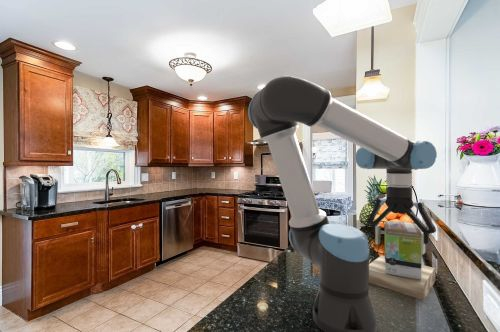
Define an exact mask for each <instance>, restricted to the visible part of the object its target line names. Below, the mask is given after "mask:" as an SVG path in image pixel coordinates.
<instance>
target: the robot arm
mask: <svg viewBox="0 0 500 332" xmlns="http://www.w3.org/2000/svg"><path fill="white" fill-rule="evenodd" d="M247 110H248V111H247V114H248V118H249V121H250V124H251V125H252V126H253V127H254V128H255V129H257V131H258V134H259V138H260V140H261V141H264V142H265V143H267V145H268V148H269V151H270V154H271V157H272V160H273V161H272V162H273V163H274V167H275V170H276V172H277V175H278V179H279V182H280V185H281V188H282V191H283V194H284V197H285V200H286V202H287V206H288V209H289V212H290V215H291V217H290V219H289V221H288V225H289V227H290V229H289V231H288V239H289V242H290V245H291V247H292V248H293V250H294V251H295V252H296V253H297V254H299V255H300V256H301V257H303V258H305V259H306V261H308V262H309V263H310V262H311V263H312V264H313V265H314V266H316V267H317V268H318V269H319V271H318V272H319V286H318V287H319V288H318V291H317V293H316V297H315V300H314V302H313V306H312V319H313V322H314V324H315V326H316V327H317V326H318V327H319V328H320V329H321V330H320V329H319V328H318V327H317V328H318V329H319V330H320V331H322V330H323V331H324V332H378V319H377V316H376V313H375V310H374V306H373V304H372V301H371V297H370V295H369V294H370V292H369V291H370V289H369V287H370V285H369V284H370V283H369V264H370V247H369V240H368V238H367V235H366V234H365V233H364V232H363V231H362V230H361V229H358V228H356V227H354V226H352V225H345V224H342V223H330V222H329V218H328V215H327V213H326V212H325V211H324V210H322V209H320V208H319V204H318V201H317V198H316V195H315V192H314V189H313V185H312V182H311V179H310V175H309V173H308V170H307V166H306V164H305V160H304V157H303V153H302V150H301V147H300V144H299V141H298V138H297V134H296V133H297V130H298V128H299V123H300V124H303V125H305V126H307V127H314V126H316V127H318V128H320V129H323V130H325V131H327V132H329V133H331V134H333V135H335V136H338V137H340V138H341V139H343V140H346V141H348V142H349V143H352V144H353V145H356V146H358V149H357V150H356V152H355V163H356V165H357V166H358V167H359V168H360V169H364V170H365V169H366V170H372V169H373V170H386V173H385V174H386V177H385V178H386V183H385V185H388V186H386V190H385V191H386V192H385V195H386V199H383V198H381V197H380V198H379V197H378V198H377V199H376V201H375V206H374V207H373V209H372V211H371V213H370V214H369V216H368V219H367V220H366V222H367V223H368V224H371V225H372V234H373V235H375V239H374V240H375V241H374V243H375V245H380V244H381V225H380V224H379V223H380V222H382V220H384V219H385V218H386V217H387V216H388V215H389V214H390V213H391V212H392V213H393V214H400V215H406V216H408V217H409V219H410V220H411V221H413V223H415V224H416V225H417V227H418V228H419V230H420V231H421V233H422V255H424V254H425V253H426V245H428V244H429V243H430V234H435V233H436V232H437V229H436V226H435V225H434V223H433V221H432V219H431V217H430V216H429V214H428V212H427V211H426V209H425V204H424V202H423V201H417V202H414V201H413V188H412V187H411V186H413V170H415V171H417V170H426V169H429V168H431V167H432V166H433V165H434V164H435V163H436V159H437V157H438V156H437V155H438V153H437V150H436V147H435V145H434V144H433V143H432V142H431V141H428V140H427V141H426V140H416V141H414V140H411V139H409V138H407V137H406V136H403V135H402V134H400V133H397V132H396V131H394V130H392V129H390V128H389V127H386V126H385V125H382V124H381V123H379V122H378V121H376V120H374V119H372V118H370V117H368V116H367V115H365V114H362V113H361V112H359V111H357V110H356V109H353V108H351V107H349V106H348V105H346V104H344V103H343V102H340V100H339V101H338V100H337V99H335V98H334V97H332V94H331V91H330V90H328V89H327V88H324V87H322V86H320V85H319V84H316V83H314V82H312V81H309V80H307V79H304V78H301V77H297V76H292V75H280V76H278V77H275V78H273V79H271V80H270V81H269V82H268V83H266V84H265V86H264V87H263V88H261V90H259V91H257V93H256V94H255V95H254V96H253V97H252V98H251V100H250V102H249V105H248V109H247ZM384 204H385V205H386V207H387V208H386V209H384V211H383V212H382V213H381V214H380V215H379V216H378V217H376V216H377V215H378V213H379V211H380V209H381V208H382V206H383V205H384ZM413 207H415V209H417V210H418V213H419V214H420V216H421V217H422V219H423V222H422V220H421V219H420V218H419V217H418V216H417V215H416V214H415V212H414V210H412V208H413ZM323 331H322V332H323Z"/></svg>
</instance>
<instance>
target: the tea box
mask: <svg viewBox="0 0 500 332" xmlns="http://www.w3.org/2000/svg"><path fill="white" fill-rule="evenodd" d="M383 238H384V256H385V269H386V273H387V274H392V275H397V276H403V277H408V278H414V279H421V273H422V270H421V268H422V267H421V265H423V264H422V255H423V254H422V231H421V229H420V228H419V227H418V226H417V225H416V224H415V223H414V222H404V221H395V220H393V221H392V220H385V221H384V237H383Z"/></svg>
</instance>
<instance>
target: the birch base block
mask: <svg viewBox="0 0 500 332" xmlns="http://www.w3.org/2000/svg"><path fill="white" fill-rule="evenodd" d="M421 267H422V268H421V270H422V273H421V279H414V278H408V277H403V276H397V275H392V274H387V273H386V269H385V255H380V256H378V257H377V258H376V259H374V260H372V262H369V284H371V285H375V286H378V287H381V288H385V289H387V290H391V291H393V292H398V293H400V294H404V295H406V296H410V297H413V298H415V299H419V300H422V301H425V299H426V297H427V296H428V295H429V292H430V291H431V289H432V288H433V286H434V284H435V282H436V268H435V267H431V266H428V265H423V264H422V265H421Z"/></svg>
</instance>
